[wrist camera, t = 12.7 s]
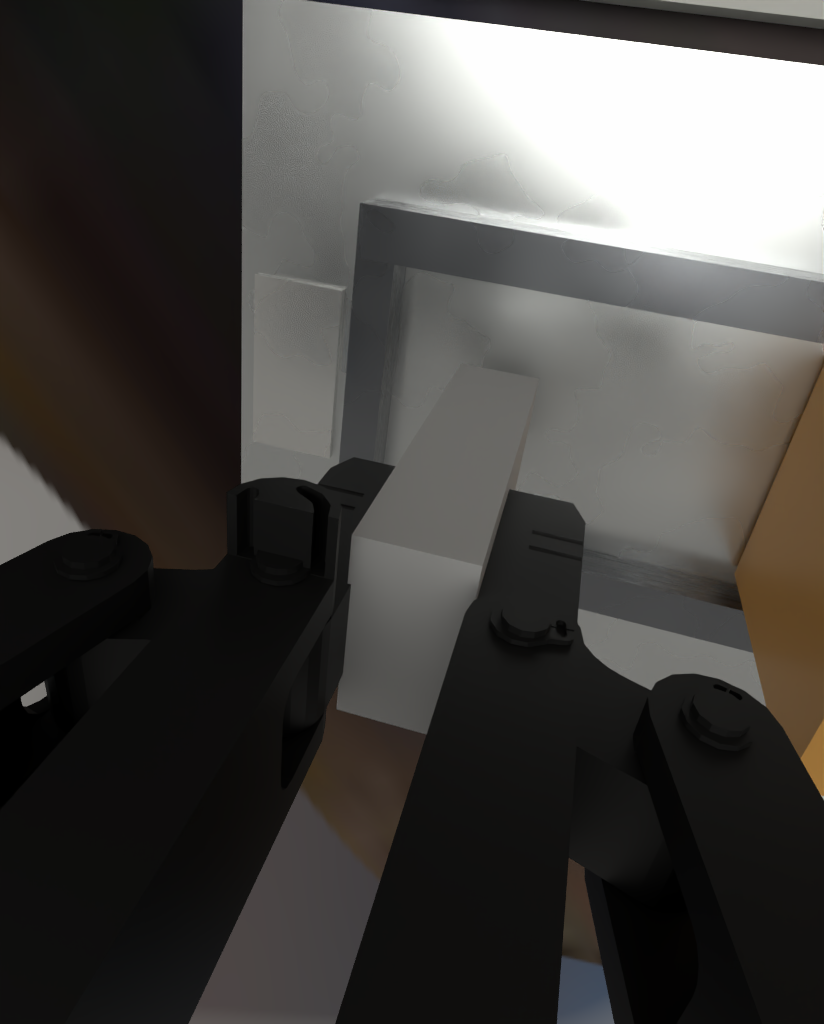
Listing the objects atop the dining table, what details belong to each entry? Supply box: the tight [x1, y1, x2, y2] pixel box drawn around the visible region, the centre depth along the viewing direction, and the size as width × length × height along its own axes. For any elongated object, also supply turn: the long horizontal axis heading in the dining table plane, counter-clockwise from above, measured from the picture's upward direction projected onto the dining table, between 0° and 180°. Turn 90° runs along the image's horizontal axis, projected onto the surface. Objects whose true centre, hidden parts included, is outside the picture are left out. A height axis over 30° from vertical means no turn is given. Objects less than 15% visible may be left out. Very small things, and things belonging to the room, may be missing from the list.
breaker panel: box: [241, 0, 824, 707], centre depth 16 cm, size 20×14×3 cm
